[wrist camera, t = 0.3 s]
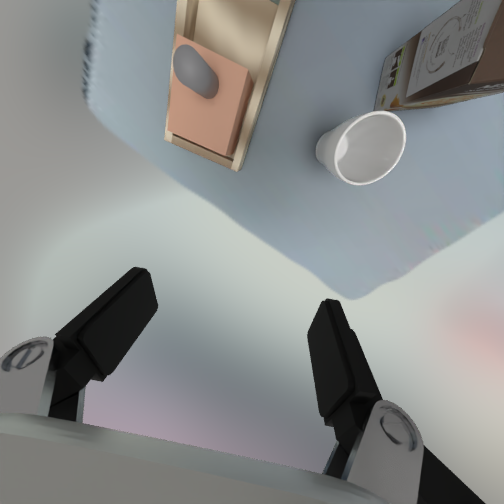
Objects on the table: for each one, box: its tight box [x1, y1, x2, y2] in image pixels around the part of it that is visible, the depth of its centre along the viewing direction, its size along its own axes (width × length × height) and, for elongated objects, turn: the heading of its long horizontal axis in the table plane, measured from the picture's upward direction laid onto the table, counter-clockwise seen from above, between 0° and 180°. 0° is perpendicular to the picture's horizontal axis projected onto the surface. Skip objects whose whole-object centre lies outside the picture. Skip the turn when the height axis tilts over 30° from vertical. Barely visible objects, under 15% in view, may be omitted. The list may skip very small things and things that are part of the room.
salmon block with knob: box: [167, 34, 254, 156], centre depth 24 cm, size 10×9×12 cm
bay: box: [164, 0, 296, 172], centre depth 25 cm, size 26×13×4 cm, turn 159°
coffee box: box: [374, 0, 504, 111], centre depth 19 cm, size 9×6×16 cm
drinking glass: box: [316, 111, 406, 185], centre depth 24 cm, size 7×7×15 cm
